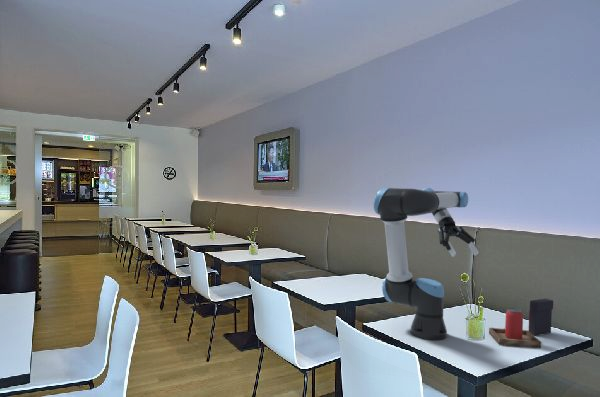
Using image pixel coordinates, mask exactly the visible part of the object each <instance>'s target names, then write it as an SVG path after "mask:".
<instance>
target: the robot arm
mask: <svg viewBox="0 0 600 397" xmlns="http://www.w3.org/2000/svg"><path fill="white" fill-rule="evenodd" d="M468 204H469V194H468V192H466V191H443V190H441V191H438V190H433V189H432V188H430V187H425V188H423V189H416V188H396V187H395V188H393V187H388V188H380V189H379V190H378V191H377V193H376V194H375V196H374V200H373V210H374V212H375V213H376V214H377V215H379V216H380V218H379V219H380V221H381V222H382V223H384V231H385V233H384V234H385V243H386V253H387V262H388V273H387V274H386V277H385V278H383V281H382V286H381V288H382V289H381V290H382V295H383V298H384V299H385V300H386V301H388V303H389V302H390V303H393V304H395V305H397V304H398V305H402V306H407V307H410V308H411V307H412V308H415V315H414V317H413V319H412V323H411V325H410V334H411V335H413V336H414V337H417V338H420V339H423V340H424V339H425V340H430V341H438V340H444V339H446V338H447V335H448V331H447V327H446V323H445V321H444V306H445V305H444V301H445V288H444V285H443V284H442V283H441V282H440V281H437V280H434V279H430V278H424V277H420V278H419V277H418V278H417V279H416V280H414V279H413V278H414V277H413V273H412V272H410V271H409V261H408V250H407V249H408V247H407V239H406V238H407V237H406V228H405V227H406V226H405V221H406V220H408V217H416V216H422V215H427V214H431V215H432V216H433V217H434V218H433V219H435V221H436V223H437V224H438V226H439V228H438V229H437V232H438V237H439V238H438V239H439V244H440V245H442V247H445V249H446V250H447V251H448V253H449V254H450V256H451V257H452V258H454V257H455V256H456V255H457V252H456V250H455V248H454V246H453V245H452V243H451V242H450V241H449V240H450V238H451V237H456V238H459V239H460V240H461V241H463V242H465V243H466V244H468V245H467V246H468V247H469V249H470V250H471V253H472V254H473V256H477V255H478V254H479V253H480V252H479V250H478V249H477V247H476V244H475V241H476V239H475V238H474V237H473V236H472V235H470V234H469V233H468V232H467V230H465V229H464V228H463V226H459V227H457V226H456V221H455V220H454V218H453V216H452V215H451V213H450V212H449V211H448V209H452V208H460V209H461V208H466V207H467V206H468Z"/></svg>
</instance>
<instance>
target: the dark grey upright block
mask: <svg viewBox="0 0 600 397" xmlns="http://www.w3.org/2000/svg"><path fill="white" fill-rule="evenodd" d="M553 309H554V300H552V299H549V298H541V299H540V298H539V299H533V300H530V301H529V311H528V329H527V330H528V331H529V332H530V333H531V334H532V335H534V336H535V337H537V336H542V335H543V336H544V335H546V334H547V335H548V334H551V332H552V311H553Z"/></svg>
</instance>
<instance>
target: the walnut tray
mask: <svg viewBox="0 0 600 397" xmlns="http://www.w3.org/2000/svg"><path fill="white" fill-rule="evenodd" d="M528 330H529V329H525V330H524V329H523V332H522V339H521V340H518V339H509V338H507V337H506V336H505V328H501V327H500V328H498V327H488V334H489V336H490V337H491V338H492V339H493V340H494V341H495V342H496V343H497V344H498V346H506V347H507V346H509V347H520V348H521V347H523V348H534V349H542V341H541V340H540V339H538V338H537V336H534V335H532V334H531V333H530V332H529V331H528Z"/></svg>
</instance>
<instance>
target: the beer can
mask: <svg viewBox="0 0 600 397" xmlns="http://www.w3.org/2000/svg"><path fill="white" fill-rule="evenodd" d="M523 327H524V314H523V311H522V310H521V309H518V308H514V307H510V308H507V310H506V312H505V328H504V329H505V336H506V337H507V338H509V339H518V340H521V339H522V332H523V330H524V328H523Z"/></svg>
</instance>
